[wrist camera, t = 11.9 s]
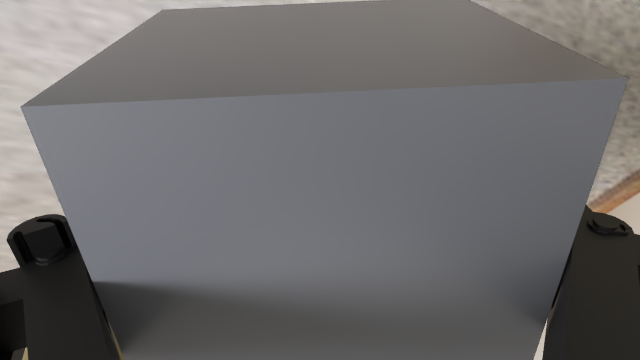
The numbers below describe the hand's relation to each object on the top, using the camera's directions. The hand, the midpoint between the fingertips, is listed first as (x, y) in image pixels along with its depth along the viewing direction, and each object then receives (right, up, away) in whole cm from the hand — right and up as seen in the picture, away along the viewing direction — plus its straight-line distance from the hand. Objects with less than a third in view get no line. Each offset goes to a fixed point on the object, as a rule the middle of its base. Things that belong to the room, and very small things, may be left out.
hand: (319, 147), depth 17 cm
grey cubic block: (0, 0, +1) cm, 1 cm away
